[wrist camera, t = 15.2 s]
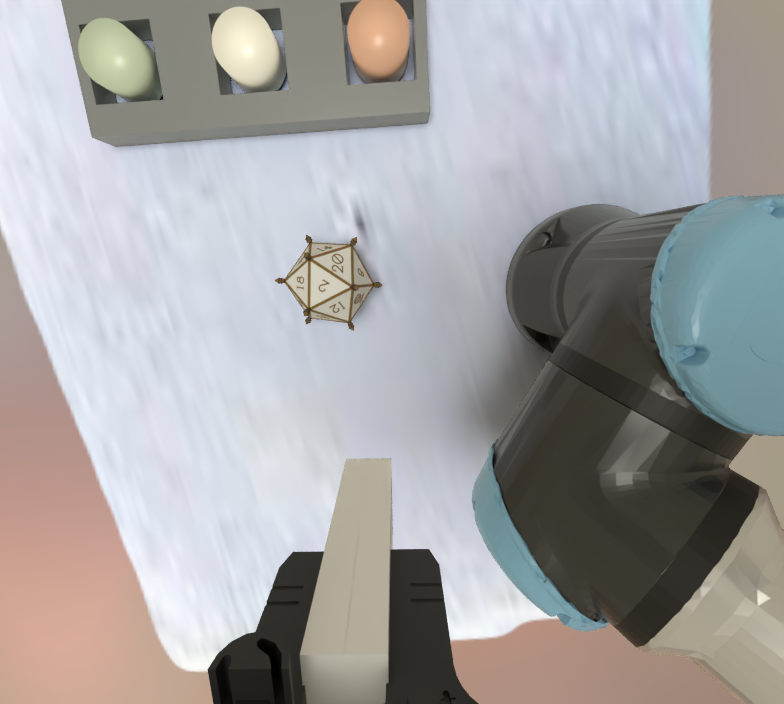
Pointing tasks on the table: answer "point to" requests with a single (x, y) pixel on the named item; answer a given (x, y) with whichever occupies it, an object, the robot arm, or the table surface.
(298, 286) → the game die
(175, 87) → the console
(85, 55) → the button two
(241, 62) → the button one
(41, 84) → the table surface
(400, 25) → the button three
